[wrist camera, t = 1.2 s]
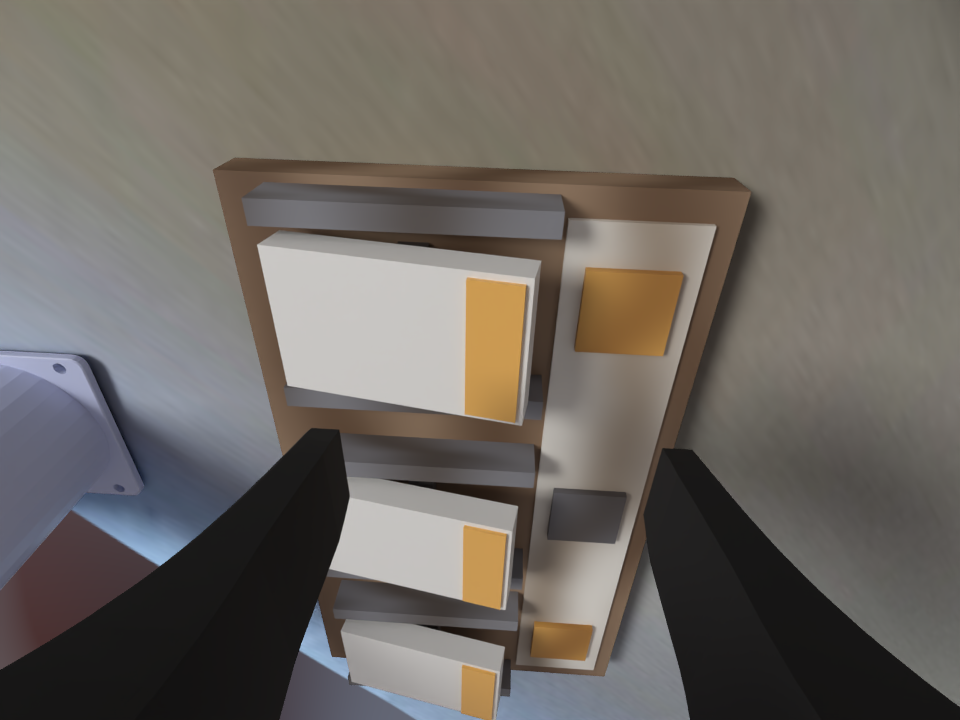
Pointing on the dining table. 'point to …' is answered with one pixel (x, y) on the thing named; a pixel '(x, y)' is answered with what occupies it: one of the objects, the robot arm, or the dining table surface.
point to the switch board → (553, 382)
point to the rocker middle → (428, 541)
